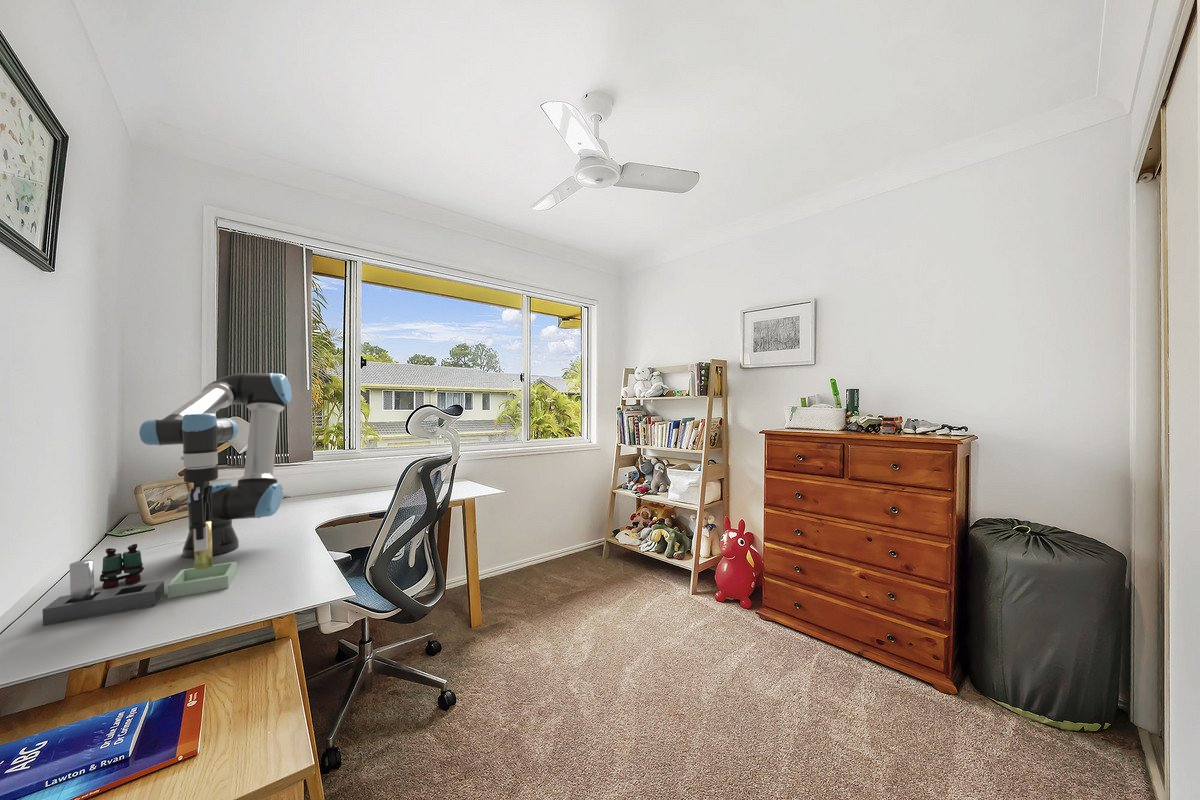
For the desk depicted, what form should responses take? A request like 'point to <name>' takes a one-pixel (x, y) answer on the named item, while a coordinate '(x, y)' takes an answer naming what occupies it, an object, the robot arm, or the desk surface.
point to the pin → (82, 580)
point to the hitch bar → (104, 603)
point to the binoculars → (121, 567)
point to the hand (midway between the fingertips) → (203, 547)
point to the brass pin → (204, 552)
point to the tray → (202, 579)
